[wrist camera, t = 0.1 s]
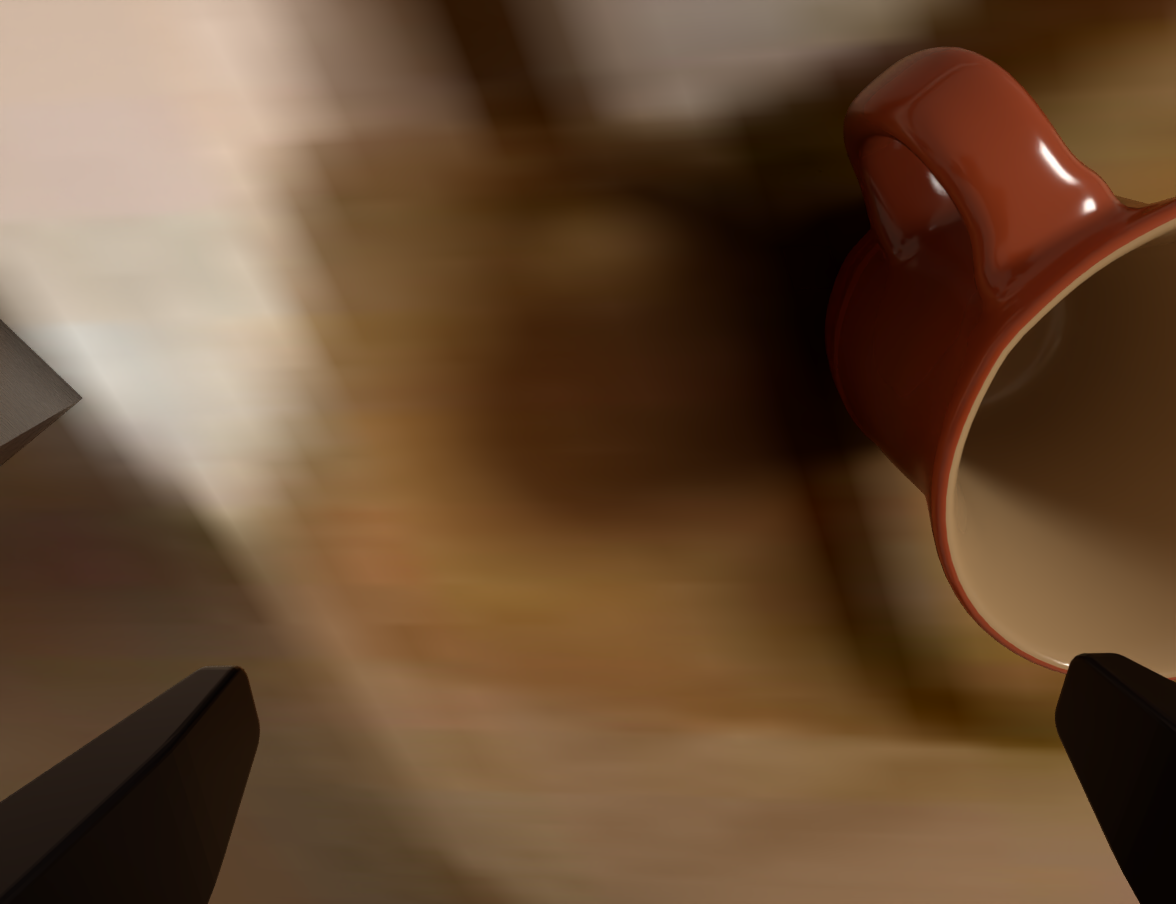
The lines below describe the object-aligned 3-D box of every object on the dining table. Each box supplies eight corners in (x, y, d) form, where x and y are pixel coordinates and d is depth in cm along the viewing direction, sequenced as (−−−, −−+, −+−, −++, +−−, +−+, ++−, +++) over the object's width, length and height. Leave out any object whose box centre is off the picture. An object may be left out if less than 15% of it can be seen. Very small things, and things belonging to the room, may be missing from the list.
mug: (1156, 327, 22) (1586, 494, 12) (889, 505, 24) (1084, 759, 15) (942, -54, 18) (1328, -225, 9) (650, 201, 20) (706, 283, 11)
